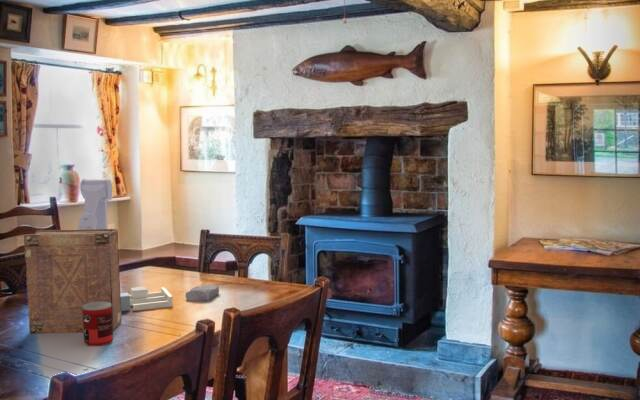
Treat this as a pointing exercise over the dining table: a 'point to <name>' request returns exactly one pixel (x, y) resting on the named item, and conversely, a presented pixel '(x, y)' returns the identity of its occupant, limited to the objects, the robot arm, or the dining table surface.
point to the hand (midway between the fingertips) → (88, 308)
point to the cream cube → (139, 293)
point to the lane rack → (153, 301)
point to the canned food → (97, 323)
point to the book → (70, 277)
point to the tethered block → (125, 301)
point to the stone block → (202, 293)
